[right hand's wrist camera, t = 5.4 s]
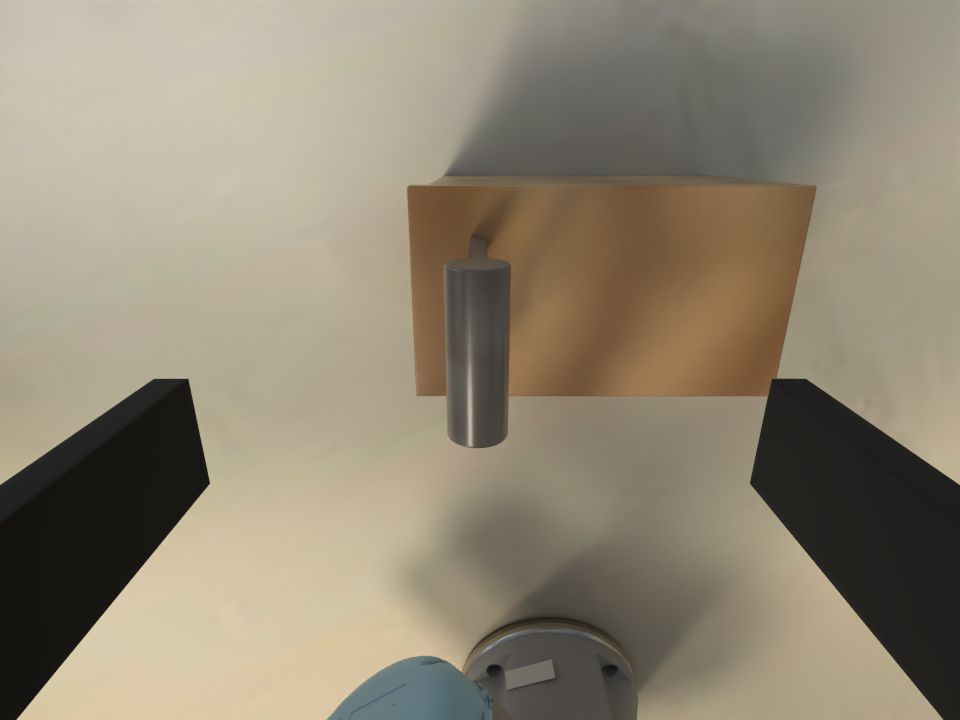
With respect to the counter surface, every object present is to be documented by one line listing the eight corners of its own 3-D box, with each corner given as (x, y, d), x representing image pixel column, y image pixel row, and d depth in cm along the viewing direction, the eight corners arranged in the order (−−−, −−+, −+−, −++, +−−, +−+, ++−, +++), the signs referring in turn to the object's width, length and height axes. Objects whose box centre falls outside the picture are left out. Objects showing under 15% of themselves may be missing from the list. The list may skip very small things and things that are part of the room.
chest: (446, 324, 36) (434, 388, 26) (443, 175, 33) (427, 184, 23) (686, 324, 36) (763, 388, 26) (707, 175, 33) (804, 184, 23)
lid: (418, 388, 26) (389, 497, 18) (409, 184, 23) (368, 202, 15) (763, 389, 26) (895, 497, 18) (805, 184, 23) (990, 202, 15)
